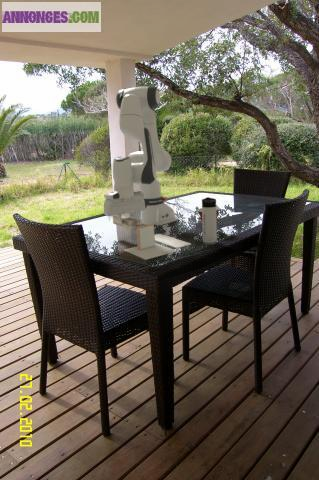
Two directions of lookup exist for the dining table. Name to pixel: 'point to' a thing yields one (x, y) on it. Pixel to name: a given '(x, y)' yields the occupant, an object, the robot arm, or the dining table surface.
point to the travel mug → (209, 221)
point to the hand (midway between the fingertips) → (126, 222)
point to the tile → (145, 236)
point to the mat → (150, 251)
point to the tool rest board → (170, 241)
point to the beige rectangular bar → (128, 222)
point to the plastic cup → (201, 212)
